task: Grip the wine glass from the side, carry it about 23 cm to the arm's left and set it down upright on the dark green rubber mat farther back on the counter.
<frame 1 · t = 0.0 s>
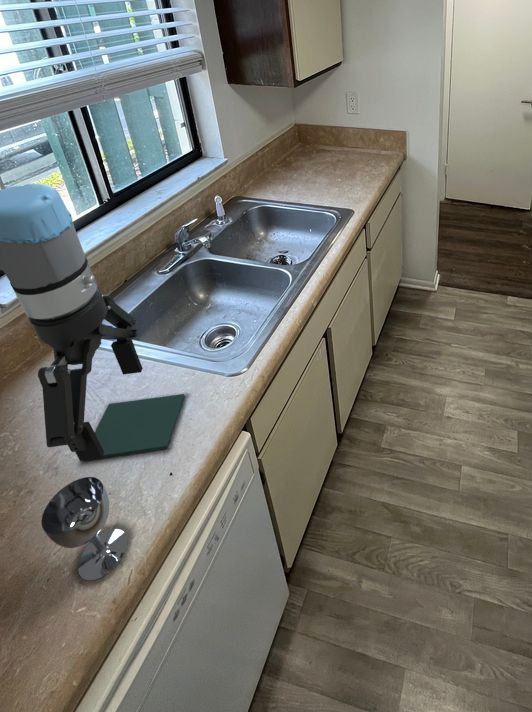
hand: (114, 410, 65), 30 cm above the worktop, tool pointing down, fingers open, 13 cm apart
wine glass: (103, 554, 74), on the worktop
mat: (137, 426, 94), on the worktop
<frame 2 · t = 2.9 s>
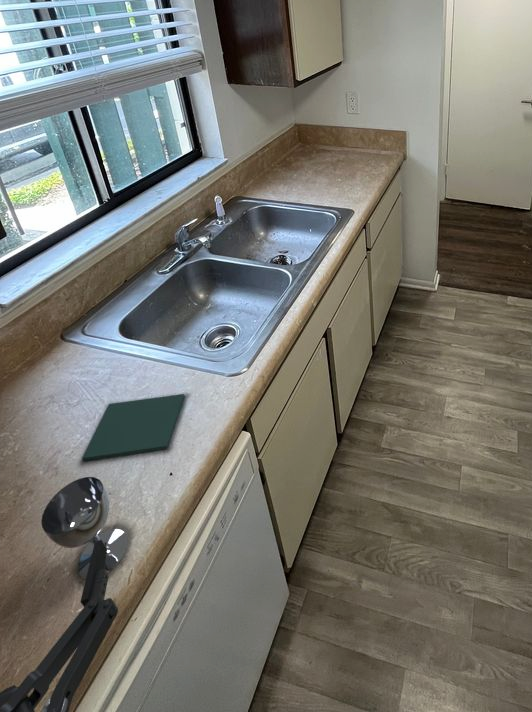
hand: (42, 566, 58), 18 cm above the worktop, tool horizontal, fingers open, 13 cm apart
nothing on the worktop moved.
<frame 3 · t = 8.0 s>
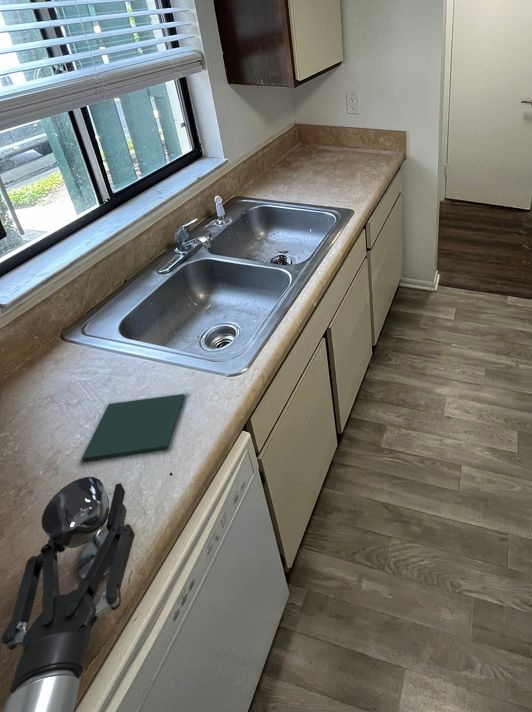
hand: (96, 495, 75), 8 cm above the worktop, tool horizontal, fingers closed on wine glass, 6 cm apart
wine glass: (103, 554, 74), on the worktop, touching gripper
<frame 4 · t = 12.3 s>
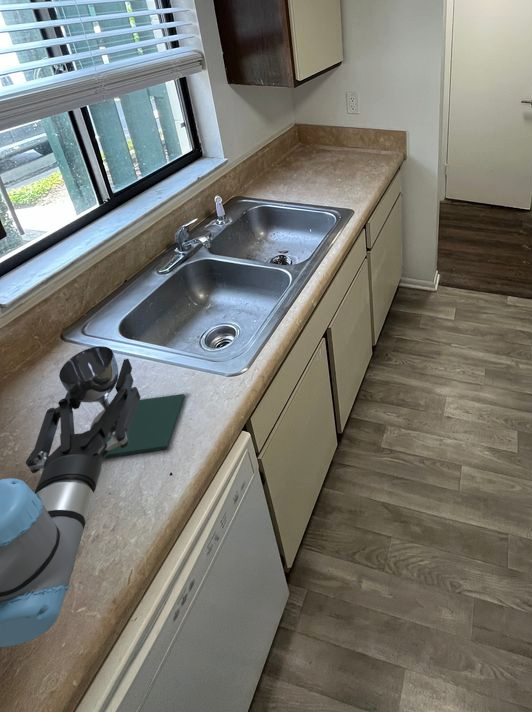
hand: (106, 369, 84), 20 cm above the worktop, tool horizontal, fingers closed on wine glass, 6 cm apart
wine glass: (112, 420, 83), point 12 cm above the worktop, touching gripper
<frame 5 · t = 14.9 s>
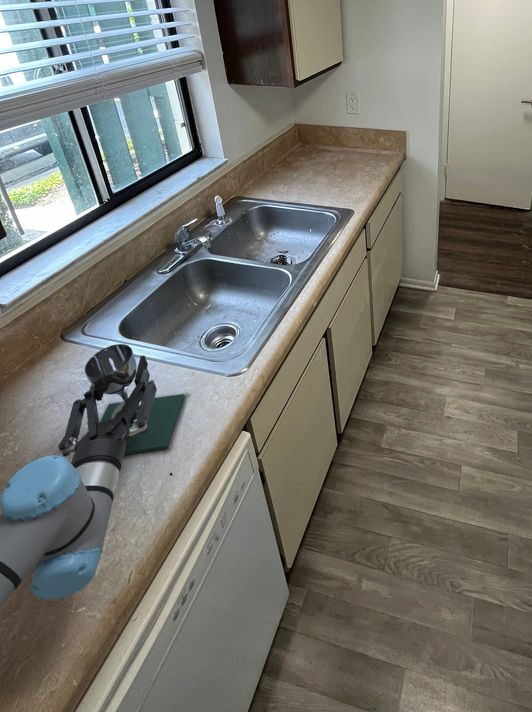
hand: (125, 365, 92), 13 cm above the worktop, tool horizontal, fingers closed on wine glass, 6 cm apart
wine glass: (131, 411, 91), point 5 cm above the worktop, touching gripper
when the fingers open (9 cm above the worktop, at t = 16.6 s): wine glass stays where it is, resting on mat.
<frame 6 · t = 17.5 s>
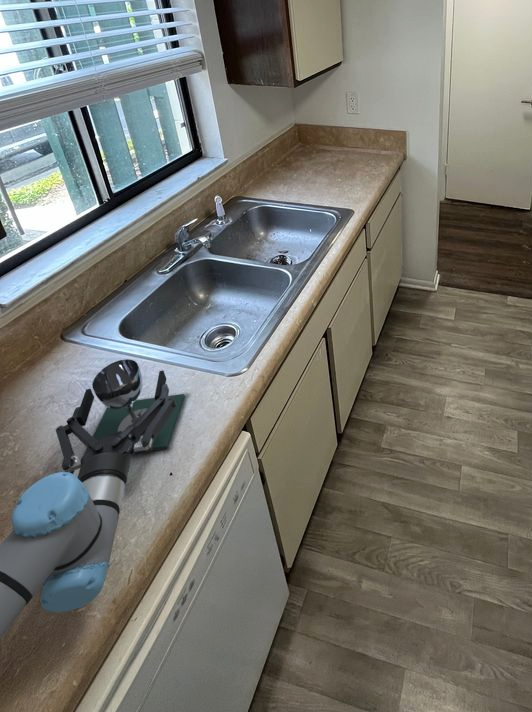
hand: (127, 383, 92), 10 cm above the worktop, tool horizontal, fingers open, 13 cm apart
wine glass: (137, 424, 93), point 1 cm above the worktop, touching mat
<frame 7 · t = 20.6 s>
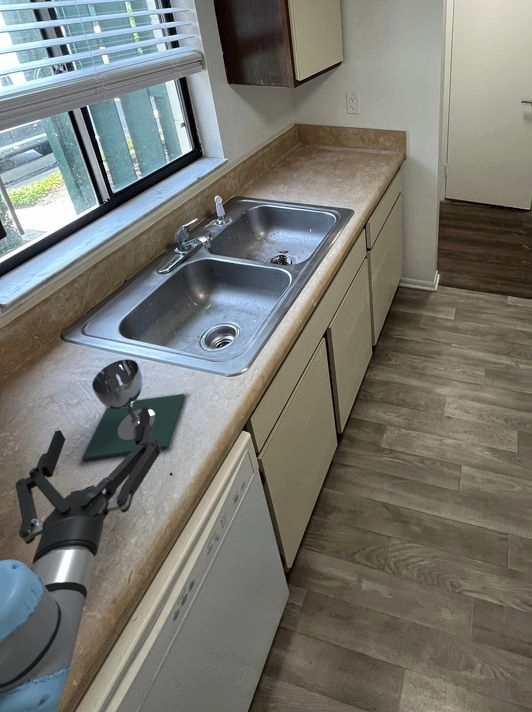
hand: (104, 423, 79), 15 cm above the worktop, tool horizontal, fingers open, 13 cm apart
nothing on the worktop moved.
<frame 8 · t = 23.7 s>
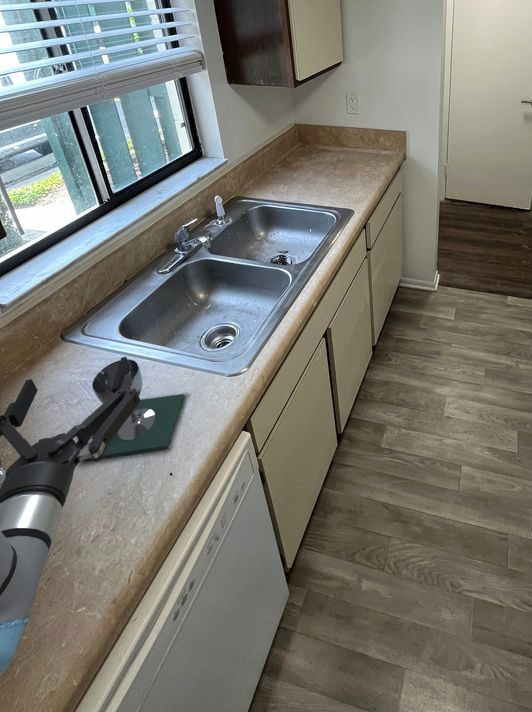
hand: (80, 373, 73), 28 cm above the worktop, tool horizontal, fingers open, 13 cm apart
nothing on the worktop moved.
at the end: wine glass inside the target area on the mat (0.1 cm from its centre), point 0.8 cm above the mat's base; wine glass tilted 0°; the gripper is holding nothing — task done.
